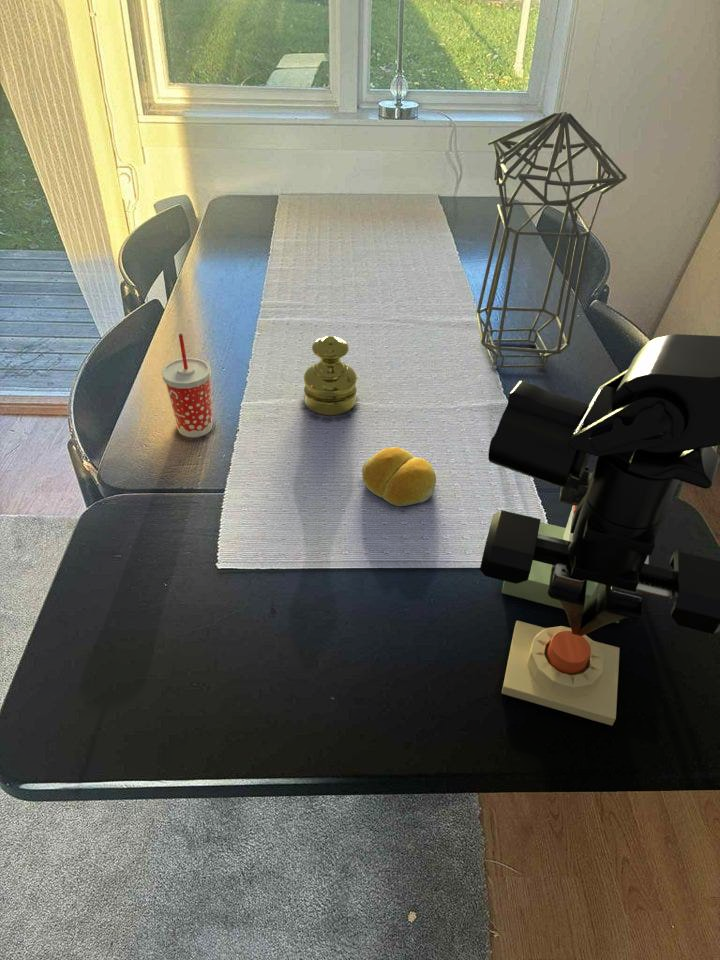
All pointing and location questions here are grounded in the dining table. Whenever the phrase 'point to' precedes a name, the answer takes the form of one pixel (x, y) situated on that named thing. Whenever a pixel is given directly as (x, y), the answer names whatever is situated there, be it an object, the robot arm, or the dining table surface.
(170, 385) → the beverage cup
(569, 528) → the white switch lever
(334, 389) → the gold tiered piece
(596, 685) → the button box
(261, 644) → the dining table surface
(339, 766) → the dining table surface
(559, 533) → the panel
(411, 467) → the bread roll
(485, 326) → the geometric lantern
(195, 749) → the dining table surface
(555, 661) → the button
